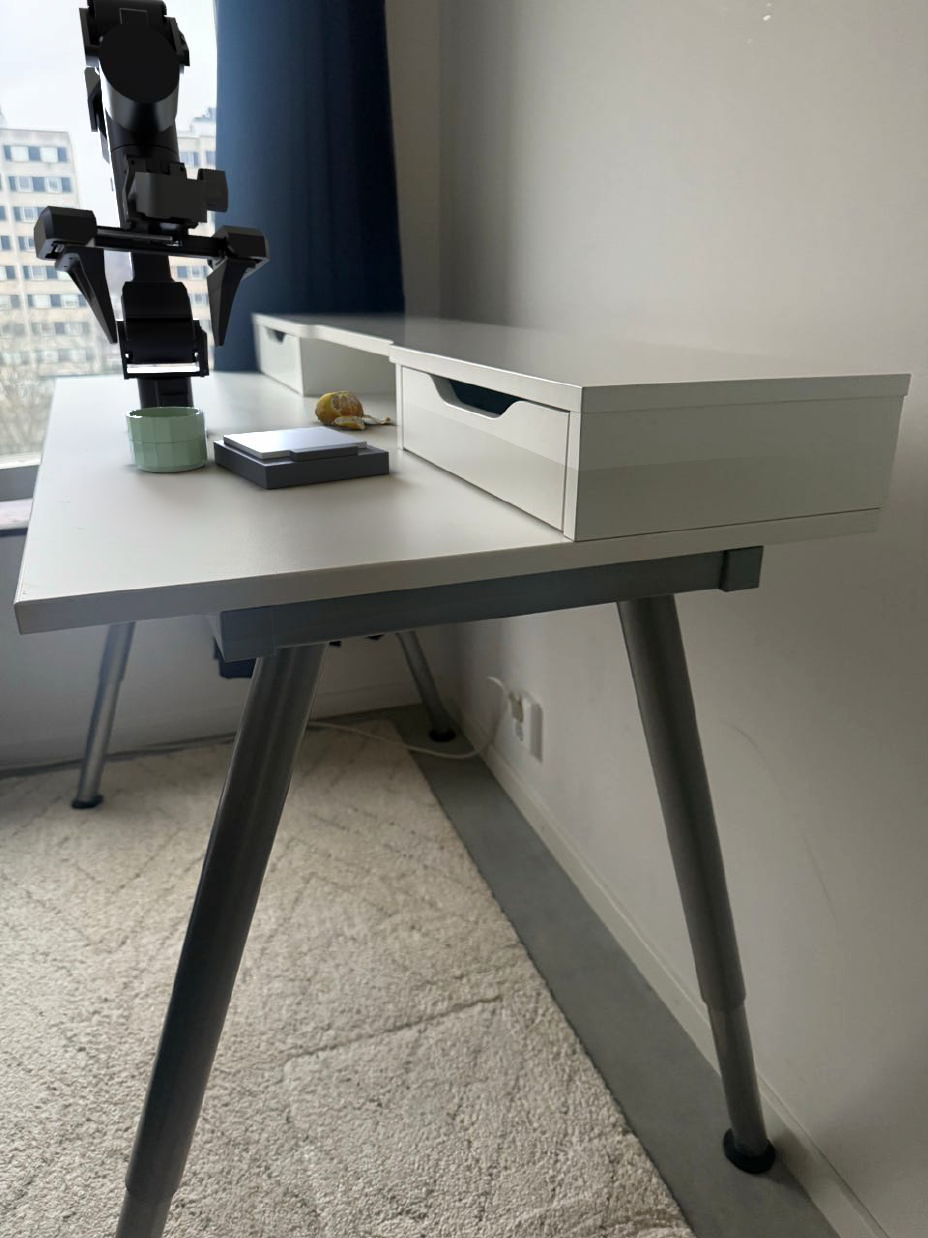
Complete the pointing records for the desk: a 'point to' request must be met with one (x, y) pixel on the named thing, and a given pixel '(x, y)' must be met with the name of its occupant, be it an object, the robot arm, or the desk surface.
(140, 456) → the bowl
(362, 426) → the fruit
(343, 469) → the scale
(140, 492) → the desk surface
